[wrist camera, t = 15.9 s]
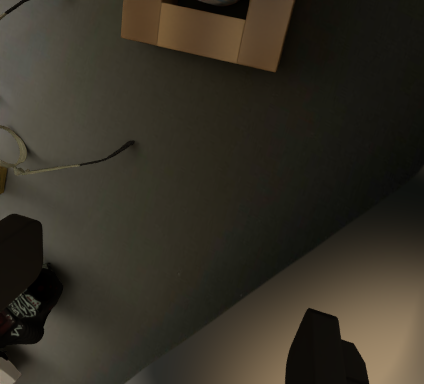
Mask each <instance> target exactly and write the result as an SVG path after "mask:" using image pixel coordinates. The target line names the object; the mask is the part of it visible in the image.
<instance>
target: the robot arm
mask: <svg viewBox="0 0 424 384" xmlns="http://www.w3.org/2000/svg"><path fill="white" fill-rule="evenodd" d="M42 266H43V233H42V224H41V223H40V222H39V221H37V220H34V219H31V218H28V217H25V216H21V215H18V214H11V215H9V216H7V217H5V218H4V219H2V220H1V221H0V313H1V312H2V311H3V310H4V309H5V308H6V307H7V306H8V305H10V304H11V303H12V302H13V301H14V300H15V299H16V298H17V297H18V296H19V295H20V294H21V293H23V292H24V291H25V290H26V289H27V288H28V287H29V286H30V285H31V284H32V283H33V282H34V281H35V280H36V279H37V277H38V276H39V274H40V272H41V269H42ZM285 384H369V380H368V375H367V370H366V365H365V362H364V360H363V359H362V357H361V355H360V353H359V352H358V350H357V348H356V347H355V345H354V344H353V343H351V342H347V341H345V340H342V339H341V335H340V328H339V321H338V318H337V317H336V316H332V315H330V314H326V313H323V312H320V311H317V310H314V309H311V308H308V309H307V311H306V313H305V315H304V317H303V319H302V322H301V324H300V326H299V329H298V331H297V333H296V336H295V338H294V340H293V342H292V345H291V347H290V350H289V354H288V358H287V364H286V375H285Z"/></svg>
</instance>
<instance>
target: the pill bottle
mask: <svg viewBox="0 0 424 384" xmlns="http://www.w3.org/2000/svg"><path fill="white" fill-rule="evenodd" d="M198 1H202V2H204V3H208V4H211V5H215V6H229V5H232V4H234V3H236V2H238V1H240V0H198Z"/></svg>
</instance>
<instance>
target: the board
mask: <svg viewBox="0 0 424 384" xmlns="http://www.w3.org/2000/svg"><path fill="white" fill-rule="evenodd" d="M20 376H21V373H20V372H19V371H18V370H17V369H16V367H15V366H14V365H13V364H12V363H11V362H10V361H9V360H7V361H6V360H5V359H3V358H2V357H0V384H13V383H14V382H16V381H17V379H18V378H19V377H20Z"/></svg>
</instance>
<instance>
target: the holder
mask: <svg viewBox="0 0 424 384" xmlns="http://www.w3.org/2000/svg"><path fill="white" fill-rule="evenodd" d="M295 1H296V0H250V2H249V7H248V12H247V17H246V20H243V19H238V18H234V17H229V16H224V15H219V14H215V13H210V12H205V11H200V10H196V9H191V8H186V7H181V6H178V0H123V14H122V29H121V38H125V39H129V40H134V41H138V42H142V43H147V44H151V45H156V46H160V47H164V48H169V49H173V50H178V51H182V52H187V53H191V54H195V55H200V56H204V57H209V58H213V59H218V60H222V61H226V62H231V63H235V64H240V65H244V66H249V67H253V68H258V69H262V70H267V71H271V72H276V71H277V69H278V66H279V63H280V59H281V55H282V51H283V47H284V43H285V40H286V36H287V32H288V28H289V24H290V20H291V17H292V13H293V9H294V5H295Z"/></svg>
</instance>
